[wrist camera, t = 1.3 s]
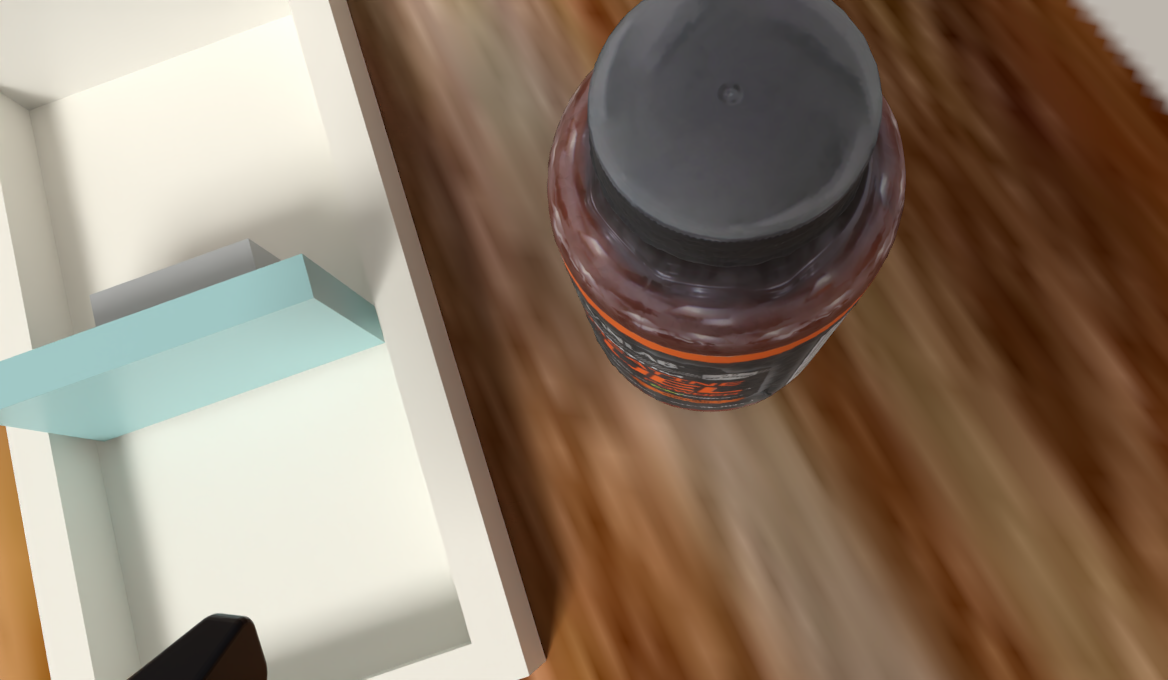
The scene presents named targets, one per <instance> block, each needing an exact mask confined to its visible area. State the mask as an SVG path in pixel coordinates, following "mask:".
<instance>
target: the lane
mask: <svg viewBox="0 0 1168 680" xmlns="http://www.w3.org/2000/svg"><path fill="white" fill-rule="evenodd" d="M247 238H249V239H250V240H252V241H253V242H255V243H256V244H258V245H259V246H261V247H262V248H264V249H265V250H267V251H268V252H270V253H271V254H273V255H274V256H276V257H277V258H279V259H280V260H281V261H282V260H285V259H288V258H291V257H293V256H296V255H299V254H303V255H305V256H306V257H307V258H309V259H310V260H312V261H313V262H314V263H316V264H317V265H319V266H320V267H321V268H323V269H324V270H325V271H327V272H328V273H330V274H331V275H332V276H334V277H335V278H336V279H338V280H339V281H341V282H342V283H343V284H345V285H346V286H347V287H349V288H350V289H352V290H353V291H354V292H356V293H357V294H358V295H360V296H361V297H363V298H364V299H365V300H367V301H368V302H369V303H371V304H372V305H374V306H375V309H376V313H377V316H378V320H379V323H380V327H381V330H382V334H383V337H384V341H385V343H383V344H380V345H377V346H374V347H371V348H369V349H366V350H363V351H360V352H357V353H354V354H352V355H349V356H346V357H343V358H340V359H337V360H335V361H332V362H329V363H326V364H323V365H320V366H317V367H315V368H312V369H309V370H306V371H303V372H300V373H298V374H295V375H292V376H289V377H286V378H283V379H281V380H278V381H275V382H272V383H269V384H266V385H263V386H261V387H258V388H255V389H252V390H249V391H246V392H244V393H241V394H238V395H235V396H232V397H229V398H227V399H224V400H221V401H218V402H215V403H212V404H210V405H207V406H204V407H201V408H198V409H195V410H192V411H190V412H187V413H184V414H181V415H178V416H175V417H173V418H170V419H167V420H164V421H161V422H158V423H156V424H153V425H150V426H147V427H144V428H141V429H138V430H136V431H133V432H130V433H127V434H124V435H121V436H119V437H116V438H113V439H110V440H107V441H97V440H91V439H85V438H78V437H72V436H66V435H59V434H53V433H47V432H40V431H34V430H28V429H21V428H15V427H9V426H6V430H7V436H8V441H9V447H10V452H11V458H12V464H13V469H14V475H15V480H16V486H17V492H18V497H19V503H20V508H21V514H22V519H23V525H24V531H25V536H26V542H27V547H28V553H29V559H30V564H31V570H32V575H33V581H34V587H35V592H36V598H37V603H38V609H39V614H40V620H41V626H42V631H43V637H44V642H45V648H46V654H47V659H48V665H49V670H50V676H51V680H127V679H128V678H129V677H131V676H132V675H133V674H134V673H136V672H137V671H138V670H139V669H141V668H142V667H143V666H145V665H146V664H147V663H148V662H150V661H151V660H152V659H153V658H155V657H156V656H157V655H158V654H160V653H161V652H162V651H164V650H165V649H166V648H167V647H169V646H170V645H171V644H172V643H174V642H175V641H176V640H177V639H179V638H180V637H181V636H182V635H184V634H185V633H186V632H188V631H189V630H190V629H191V628H193V627H194V626H195V625H196V624H198V623H199V622H200V621H201V620H203V619H204V618H206V617H208V616H210V615H212V614H215V613H224V614H232V615H240V616H247V617H249V618H250V619H251V620H252V621H253V622H254V625H255V627H256V631H257V634H258V637H259V640H260V644H261V647H262V650H263V653H264V656H265V660H266V663H267V672H268V674H267V680H518V679H521V678H524V677H527V676H530V675H531V674H532V673H533V672H534V671H535V670H536V669H537V668H539V667H540V666H541V665H542V664H543V663H544V662H545V661H546V658H545V655H544V652H543V648H542V645H541V642H540V638H539V635H538V632H537V629H536V625H535V622H534V619H533V615H532V612H531V609H530V605H529V602H528V599H527V596H526V592H525V589H524V586H523V582H522V579H521V576H520V572H519V569H518V566H517V563H516V559H515V556H514V553H513V549H512V546H511V543H510V539H509V536H508V533H507V529H506V526H505V523H504V520H503V516H502V513H501V510H500V506H499V503H498V500H497V496H496V493H495V490H494V487H493V483H492V480H491V477H490V473H489V470H488V467H487V463H486V460H485V457H484V454H483V450H482V447H481V444H480V440H479V437H478V434H477V430H476V427H475V424H474V421H473V417H472V414H471V411H470V407H469V404H468V401H467V397H466V394H465V391H464V387H463V384H462V381H461V378H460V374H459V371H458V368H457V364H456V361H455V358H454V354H453V351H452V348H451V345H450V341H449V338H448V335H447V331H446V328H445V325H444V321H443V318H442V315H441V312H440V308H439V305H438V302H437V298H436V295H435V292H434V288H433V285H432V282H431V278H430V275H429V272H428V269H427V265H426V262H425V259H424V255H423V252H422V249H421V245H420V242H419V239H418V236H417V232H416V229H415V226H414V222H413V219H412V216H411V212H410V209H409V206H408V203H407V199H406V196H405V193H404V189H403V186H402V183H401V179H400V176H399V173H398V170H397V166H396V163H395V160H394V156H393V153H392V150H391V146H390V143H389V140H388V136H387V133H386V130H385V127H384V123H383V120H382V117H381V113H380V110H379V107H378V103H377V100H376V97H375V94H374V90H373V87H372V84H371V80H370V77H369V74H368V70H367V67H366V64H365V61H364V57H363V54H362V51H361V47H360V44H359V41H358V37H357V34H356V31H355V27H354V24H353V21H352V18H351V14H350V11H349V8H348V4H347V1H346V0H0V361H2V360H5V359H8V358H11V357H13V356H16V355H19V354H22V353H25V352H27V351H30V350H33V349H36V348H39V347H41V346H44V345H47V344H50V343H53V342H55V341H58V340H61V339H64V338H67V337H69V336H72V335H75V334H78V333H81V332H83V331H86V330H89V329H92V328H95V327H96V325H95V320H94V315H93V311H92V306H91V301H90V296H89V295H91V294H94V293H97V292H100V291H102V290H105V289H108V288H111V287H114V286H116V285H119V284H122V283H125V282H128V281H130V280H133V279H136V278H139V277H141V276H144V275H147V274H150V273H153V272H155V271H158V270H161V269H164V268H167V267H169V266H172V265H175V264H178V263H181V262H183V261H186V260H189V259H192V258H194V257H197V256H200V255H203V254H206V253H208V252H211V251H214V250H217V249H220V248H222V247H225V246H228V245H231V244H234V243H236V242H239V241H242V240H245V239H247Z"/></svg>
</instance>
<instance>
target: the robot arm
mask: <svg viewBox="0 0 1168 680" xmlns="http://www.w3.org/2000/svg"><path fill="white" fill-rule="evenodd" d="M267 674H268V672H267V663H266V660H265V656H264V653H263V650H262V647H261V644H260V640H259V637H258V634H257V631H256V627H255V625H254V622H253V621H252V620H251V619H250V618H249V617H247V616H240V615H232V614H224V613H215V614H212V615H210V616H208V617H206V618H204V619H203V620H201V621H200V622H199V623H198V624H196V625H195V626H194V627H193V628H191V629H190V630H189V631H188V632H186V633H185V634H184V635H182V636H181V637H180V638H179V639H177V640H176V641H175V642H174V643H172V644H171V645H170V646H169V647H167V648H166V649H165V650H164V651H162V652H161V653H160V654H158V655H157V656H156V657H155V658H153V659H152V660H151V661H150V662H148V663H147V664H146V665H145V666H143V667H142V668H141V669H139V670H138V671H137V672H136V673H134V674H133V675H132V676H131V677H129V678H128V679H127V680H267Z"/></svg>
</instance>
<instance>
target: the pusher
mask: <svg viewBox="0 0 1168 680" xmlns="http://www.w3.org/2000/svg"><path fill="white" fill-rule="evenodd" d="M89 296H90V301H91V306H92V311H93V315H94V320H95V325H96V327H95V328H92V329H89V330H86V331H83V332H81V333H78V334H75V335H72V336H69V337H67V338H64V339H61V340H58V341H55V342H53V343H50V344H47V345H44V346H41V347H39V348H36V349H33V350H30V351H27V352H25V353H22V354H19V355H16V356H13V357H11V358H8V359H5V360H2V361H0V425H2V426H9V427H15V428H21V429H28V430H34V431H40V432H47V433H53V434H59V435H66V436H72V437H78V438H85V439H91V440H97V441H107V440H110V439H113V438H116V437H119V436H121V435H124V434H127V433H130V432H133V431H136V430H138V429H141V428H144V427H147V426H150V425H153V424H156V423H158V422H161V421H164V420H167V419H170V418H173V417H175V416H178V415H181V414H184V413H187V412H190V411H192V410H195V409H198V408H201V407H204V406H207V405H210V404H212V403H215V402H218V401H221V400H224V399H227V398H229V397H232V396H235V395H238V394H241V393H244V392H246V391H249V390H252V389H255V388H258V387H261V386H263V385H266V384H269V383H272V382H275V381H278V380H281V379H283V378H286V377H289V376H292V375H295V374H298V373H300V372H303V371H306V370H309V369H312V368H315V367H317V366H320V365H323V364H326V363H329V362H332V361H335V360H337V359H340V358H343V357H346V356H349V355H352V354H354V353H357V352H360V351H363V350H366V349H369V348H371V347H374V346H377V345H380V344H383V343H385V341H384V337H383V334H382V330H381V327H380V323H379V320H378V316H377V313H376V309H375V306H374V305H372V304H371V303H369V302H368V301H367V300H365V299H364V298H363V297H361V296H360V295H358V294H357V293H356V292H354V291H353V290H352V289H350V288H349V287H347V286H346V285H345V284H343V283H342V282H341V281H339V280H338V279H336V278H335V277H334V276H332V275H331V274H330V273H328V272H327V271H325V270H324V269H323V268H321V267H320V266H319V265H317V264H316V263H314V262H313V261H312V260H310V259H309V258H307V257H306V256H305V255H303V254H299V255H296V256H293V257H291V258H288V259H285V260H282V261H281V260H280V259H279V258H277V257H276V256H274V255H273V254H271V253H270V252H268V251H267V250H265V249H264V248H262V247H261V246H259V245H258V244H256V243H255V242H253V241H252V240H250V239H249V238H247V239H245V240H242V241H239V242H236V243H234V244H231V245H228V246H225V247H222V248H220V249H217V250H214V251H211V252H208V253H206V254H203V255H200V256H197V257H194V258H192V259H189V260H186V261H183V262H181V263H178V264H175V265H172V266H169V267H167V268H164V269H161V270H158V271H155V272H153V273H150V274H147V275H144V276H141V277H139V278H136V279H133V280H130V281H128V282H125V283H122V284H119V285H116V286H114V287H111V288H108V289H105V290H102V291H100V292H97V293H94V294H91V295H89Z"/></svg>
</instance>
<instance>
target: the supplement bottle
mask: <svg viewBox="0 0 1168 680" xmlns="http://www.w3.org/2000/svg"><path fill="white" fill-rule="evenodd" d="M905 188H906V170H905V159H904V153H903V146H902V140H901V136H900V132H899V129H898V125H897V121H896V119H895V118H894V115H893V113H892V111H891V109H890V107H889V105H888V103H887V101H886V99H885V98H884V96H883V95H882V90H881V83H880V77H879V73H878V69H877V64H876V62H875V60H874V58H873V56H872V54H871V51H870V48H869V46H868V43H867V41H866V39H865V37H864V35H863V34H862V33H861V32H860V31H859V29H858V28H857V27H856V26H855V24H854V23H853V22H852V21H851V20H850V18H849V17H848V16H847V14H846V13H845V12H844V11H843V10H842V9H841V8H840V7H838V6H837V5H836V4H835V3H834V2H833V1H832V0H643V1H641V2H640V3H639V4H638V5H637V6H636V7H634V8H633V9H632V10H631V11H630V12H629V13H628V14H627V15H626V16H625V17H624V18H623V19H622V20H621V21H620V22H619V24H618V25H617V26H616V28H615V29H614V30H613V32H612V33H611V34H610V36H609V37H608V39H607V41H606V43H605V45H604V46H603V48H602V50H601V52H600V54H599V57H598V59H597V61H596V63H595V67H594V69H593V70H592V71H591V72H590V73H589V74H588V75H587V76H586V78H585V79H584V80H583V82H582V83H581V84H580V86H579V87H578V89H577V90H576V92H575V93H574V94H573V96H572V97H571V99H570V100H569V103H568V105H567V107H566V109H565V110H564V112H563V115H562V117H561V120H560V122H559V125H558V127H557V130H556V133H555V136H554V140H553V144H552V148H551V151H550V158H549V163H548V181H547V194H548V203H549V214H550V219H551V225H552V229H553V233H554V237H555V241H556V244H557V246H558V248H559V251H560V253H561V256H562V259H563V262H564V264H565V267H566V269H567V271H568V273H569V275H570V278H571V280H572V283H573V285H574V287H575V289H576V291H577V294H578V296H579V298H580V301H581V303H582V305H583V307H584V309H585V312H586V315H587V318H588V320H589V322H590V324H591V326H592V328H593V331H594V333H595V336H596V339H597V341H598V343H599V344H600V346H601V347H602V349H603V350H604V352H605V354H606V355H607V357H608V359H609V360H610V362H611V363H612V365H613V366H615V367H616V368H617V369H618V371H619V372H620V373H621V374H622V375H623V376H625V378H626V379H627V380H628V381H629V382H631V383H632V384H633V385H634V386H636V387H637V388H639V389H640V390H641V391H642V392H644V393H645V394H647V395H649V396H651V397H653V398H655V399H656V400H659V401H661V402H663V403H665V404H668V405H671V406H674V407H678V408H683V409H688V410H693V411H711V412H714V411H727V410H733V409H737V408H741V407H745V406H748V405H752V404H755V403H758V402H760V401H762V400H763V399H766V398H767V397H769V396H771V395H773V394H774V393H776V392H777V391H778V390H780V389H781V388H783V387H784V386H786V385H787V384H789V383H790V382H791V381H792V380H793V379H794V378H795V377H796V376H797V375H798V374H799V373H800V372H801V371H802V370H803V369H804V368H805V367H806V366H807V365H808V363H809V362H810V361H811V360H812V358H813V357H814V356H815V355H816V353H817V352H818V351H819V350H820V348H821V347H822V346H823V345H824V343H825V342H826V341H827V339H828V338H829V337H830V336H831V334H832V333H833V332H834V331H835V329H836V328H837V327H838V326H839V324H840V323H841V322H842V321H843V319H844V318H845V317H846V315H847V314H848V313H849V312H850V310H851V309H852V308H853V307H854V306H855V305H856V303H857V302H858V300H859V299H860V297H861V296H862V295H863V293H864V292H865V291H866V289H867V288H868V287H869V285H870V284H871V283H872V281H873V280H874V278H875V277H876V275H877V274H878V272H879V270H880V268H881V266H882V264H883V262H884V261H885V259H886V258H887V256H888V254H889V251H890V249H891V247H892V245H893V243H894V241H895V237H896V234H897V230H898V226H899V223H900V219H901V215H902V211H903V207H904V199H905Z"/></svg>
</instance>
